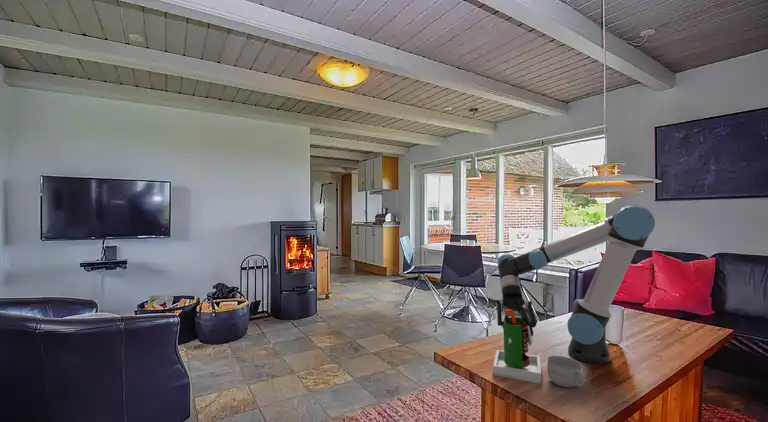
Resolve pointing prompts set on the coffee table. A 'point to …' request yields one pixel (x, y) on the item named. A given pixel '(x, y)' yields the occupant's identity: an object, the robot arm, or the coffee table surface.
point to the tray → (525, 374)
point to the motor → (515, 341)
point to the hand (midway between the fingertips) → (520, 343)
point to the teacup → (565, 371)
